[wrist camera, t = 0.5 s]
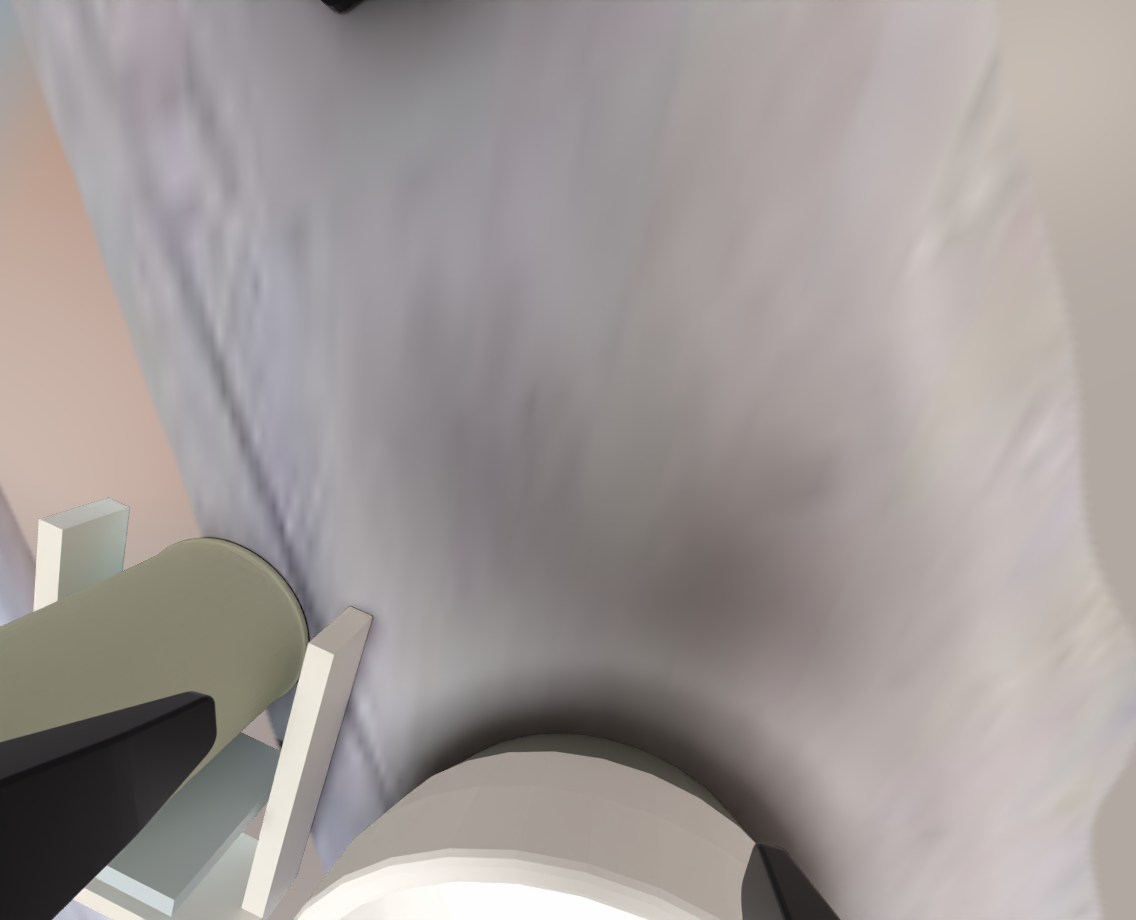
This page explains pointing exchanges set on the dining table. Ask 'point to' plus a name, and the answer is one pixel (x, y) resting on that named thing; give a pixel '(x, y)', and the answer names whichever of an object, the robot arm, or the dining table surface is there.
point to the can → (157, 643)
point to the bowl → (545, 842)
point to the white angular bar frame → (269, 865)
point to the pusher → (195, 826)
